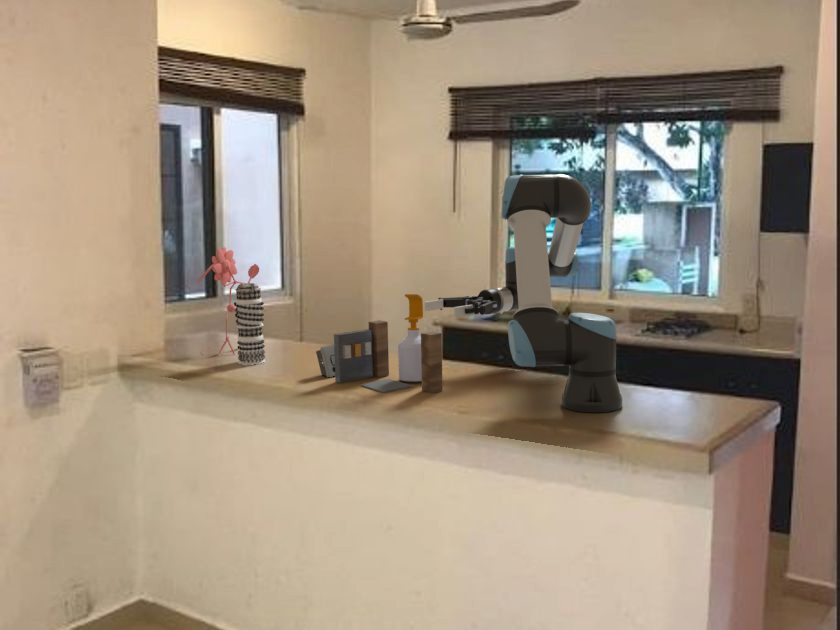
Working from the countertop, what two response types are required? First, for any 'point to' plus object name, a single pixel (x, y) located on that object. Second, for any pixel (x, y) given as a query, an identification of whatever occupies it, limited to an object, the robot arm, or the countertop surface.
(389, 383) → the pad
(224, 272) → the figurine
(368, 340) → the breaker panel
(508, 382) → the countertop surface
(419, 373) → the soap bottle
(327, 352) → the electrical switch
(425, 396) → the countertop surface
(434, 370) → the gate
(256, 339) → the decorative candle
